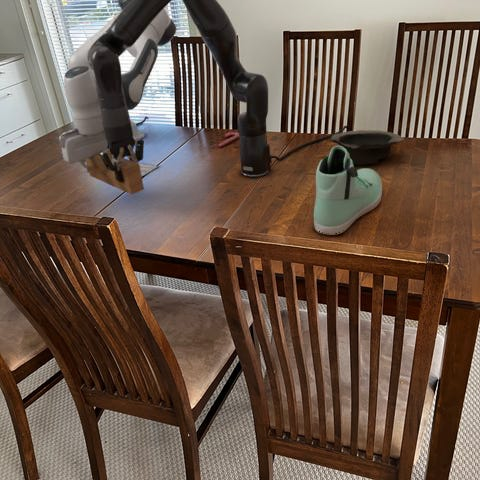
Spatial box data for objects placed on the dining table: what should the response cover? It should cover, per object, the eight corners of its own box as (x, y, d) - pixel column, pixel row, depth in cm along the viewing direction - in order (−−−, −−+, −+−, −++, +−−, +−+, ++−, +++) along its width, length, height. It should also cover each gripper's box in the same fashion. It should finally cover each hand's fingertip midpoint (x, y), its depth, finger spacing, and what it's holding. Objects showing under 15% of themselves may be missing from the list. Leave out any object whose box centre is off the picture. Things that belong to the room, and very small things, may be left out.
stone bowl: (361, 175, 156) (361, 148, 152) (316, 158, 177) (315, 133, 172) (418, 157, 165) (419, 130, 161) (369, 142, 185) (369, 118, 181)
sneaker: (389, 187, 148) (396, 123, 138) (356, 242, 123) (361, 168, 112) (346, 181, 154) (350, 119, 144) (306, 232, 129) (307, 161, 118)
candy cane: (208, 146, 191) (208, 142, 190) (230, 134, 201) (230, 130, 201) (220, 148, 188) (220, 144, 187) (242, 136, 198) (242, 132, 197)
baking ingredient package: (112, 178, 168) (138, 163, 180) (113, 179, 168) (138, 164, 180) (133, 181, 165) (157, 165, 176) (133, 182, 165) (158, 166, 176)
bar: (89, 175, 154) (83, 151, 149) (101, 170, 156) (96, 147, 152) (131, 194, 139) (126, 169, 135) (144, 189, 141) (139, 163, 137)
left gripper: (62, 136, 136) (75, 181, 143) (123, 117, 148) (132, 159, 155) (52, 132, 140) (64, 175, 147) (112, 114, 152) (121, 155, 159)
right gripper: (101, 131, 125) (114, 190, 134) (145, 117, 134) (155, 173, 142) (86, 126, 130) (100, 184, 139) (130, 112, 138) (141, 167, 147)
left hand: (99, 167), depth 151 cm, fingers open, 7 cm apart
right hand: (128, 178), depth 141 cm, fingers closed on bar, 4 cm apart
